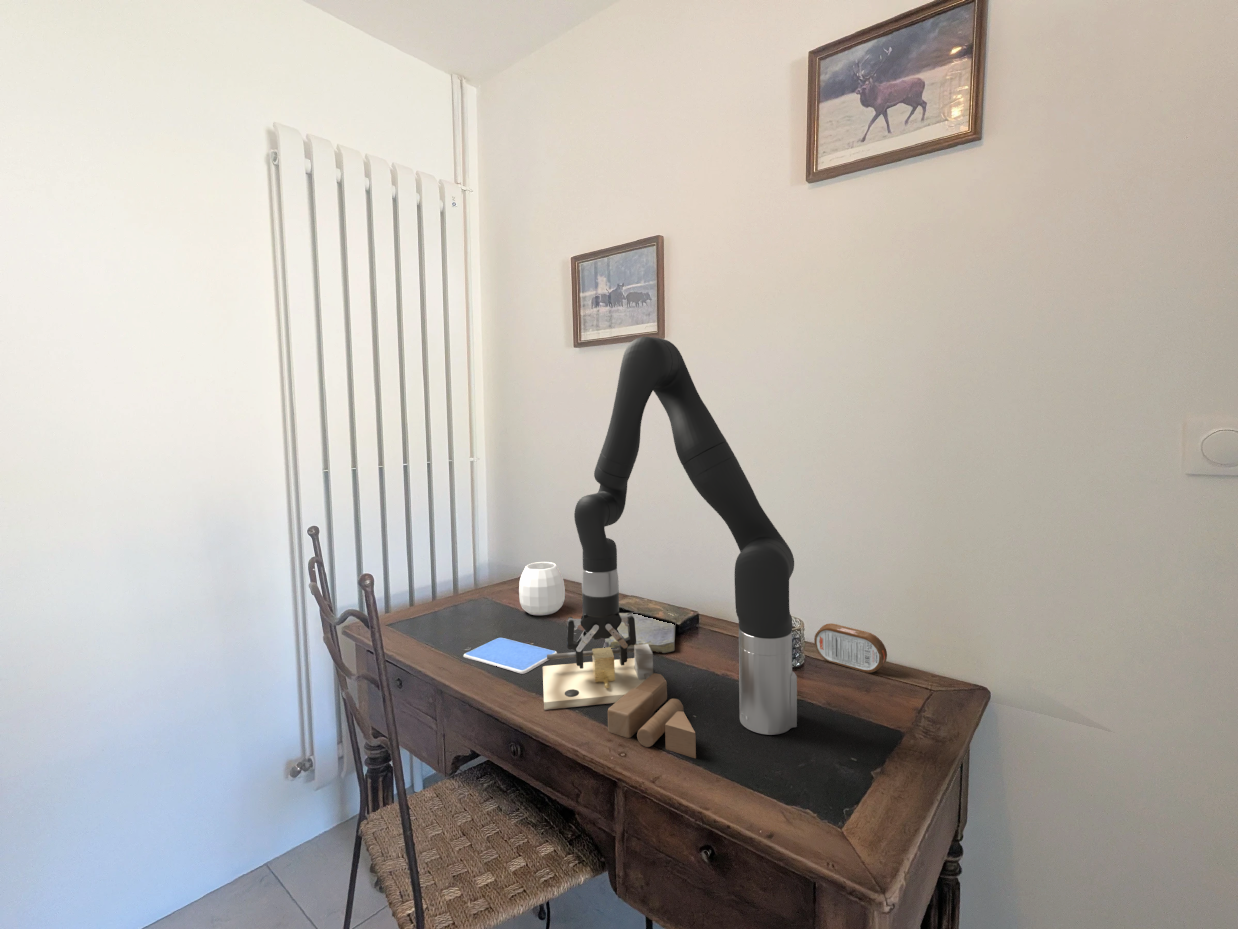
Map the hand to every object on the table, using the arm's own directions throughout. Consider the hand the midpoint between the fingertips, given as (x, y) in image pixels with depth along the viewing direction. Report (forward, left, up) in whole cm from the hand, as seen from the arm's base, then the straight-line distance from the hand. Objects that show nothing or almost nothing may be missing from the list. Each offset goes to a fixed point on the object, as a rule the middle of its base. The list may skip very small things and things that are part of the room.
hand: (601, 665), depth 118 cm
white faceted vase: (+12, -48, -4) cm, 49 cm away
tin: (-54, +2, -4) cm, 54 cm away
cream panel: (+1, 0, -4) cm, 4 cm away
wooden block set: (-10, +17, -5) cm, 20 cm away
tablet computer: (+20, -19, -5) cm, 28 cm away
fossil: (-12, -23, -5) cm, 26 cm away
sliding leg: (0, +2, -2) cm, 3 cm away
